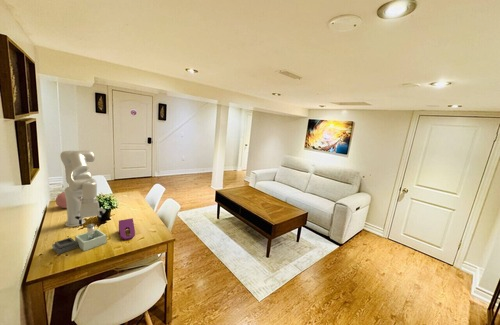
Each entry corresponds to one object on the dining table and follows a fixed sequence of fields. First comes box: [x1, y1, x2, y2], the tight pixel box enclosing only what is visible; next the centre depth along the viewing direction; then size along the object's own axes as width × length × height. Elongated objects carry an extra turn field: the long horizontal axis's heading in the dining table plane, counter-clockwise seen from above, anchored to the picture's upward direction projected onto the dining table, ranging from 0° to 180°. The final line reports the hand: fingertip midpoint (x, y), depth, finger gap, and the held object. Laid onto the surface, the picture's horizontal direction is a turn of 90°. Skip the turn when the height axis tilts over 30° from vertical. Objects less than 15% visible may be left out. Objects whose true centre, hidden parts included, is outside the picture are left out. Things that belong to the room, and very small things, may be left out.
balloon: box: [55, 192, 82, 209], centre depth 193 cm, size 15×20×15 cm
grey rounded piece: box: [86, 223, 96, 241], centre depth 140 cm, size 5×5×13 cm
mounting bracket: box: [118, 217, 136, 241], centre depth 156 cm, size 9×8×18 cm
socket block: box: [51, 236, 79, 255], centre depth 133 cm, size 10×10×4 cm
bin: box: [74, 228, 108, 252], centre depth 140 cm, size 13×13×6 cm
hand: (90, 223), depth 139 cm, fingers open, 9 cm apart
